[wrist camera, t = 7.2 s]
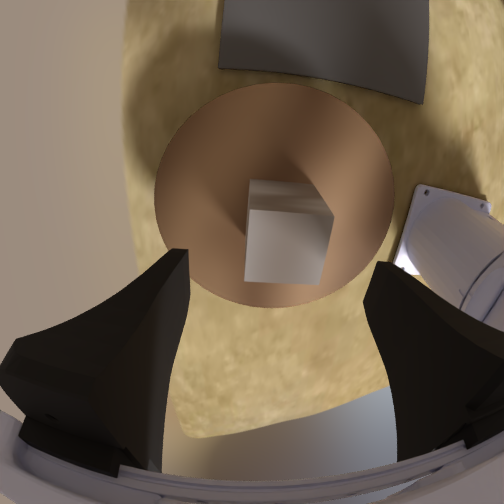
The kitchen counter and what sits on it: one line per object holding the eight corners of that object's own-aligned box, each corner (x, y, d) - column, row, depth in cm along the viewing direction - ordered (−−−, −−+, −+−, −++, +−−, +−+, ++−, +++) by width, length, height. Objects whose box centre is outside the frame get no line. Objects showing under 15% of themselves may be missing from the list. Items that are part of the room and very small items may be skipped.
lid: (407, 109, 13) (460, 121, 8) (358, 302, 19) (379, 354, 15) (158, 80, 12) (118, 76, 8) (166, 292, 19) (148, 347, 14)
